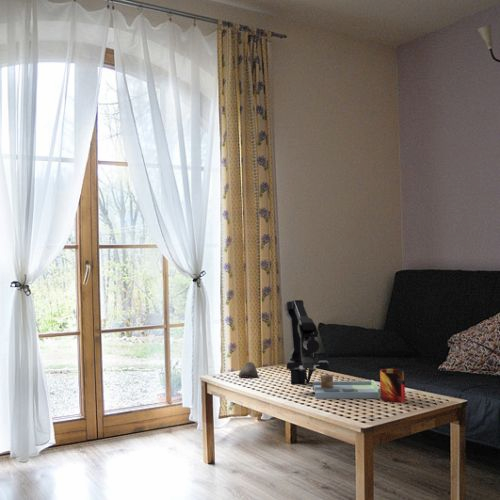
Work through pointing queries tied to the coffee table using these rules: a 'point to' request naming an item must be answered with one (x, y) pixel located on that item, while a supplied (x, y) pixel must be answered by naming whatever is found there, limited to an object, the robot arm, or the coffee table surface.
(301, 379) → the robot arm
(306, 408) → the coffee table surface
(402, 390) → the mug
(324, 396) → the trap box
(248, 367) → the stone
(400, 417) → the coffee table surface
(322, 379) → the block
